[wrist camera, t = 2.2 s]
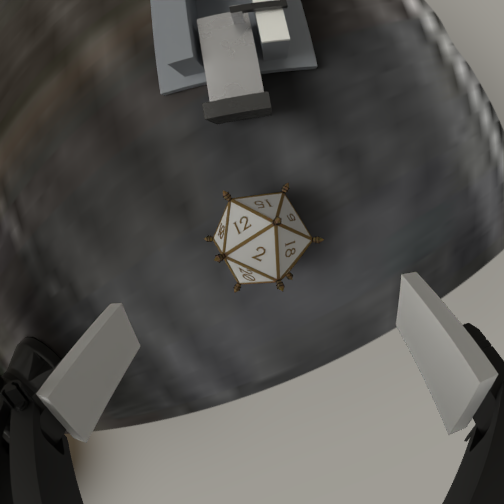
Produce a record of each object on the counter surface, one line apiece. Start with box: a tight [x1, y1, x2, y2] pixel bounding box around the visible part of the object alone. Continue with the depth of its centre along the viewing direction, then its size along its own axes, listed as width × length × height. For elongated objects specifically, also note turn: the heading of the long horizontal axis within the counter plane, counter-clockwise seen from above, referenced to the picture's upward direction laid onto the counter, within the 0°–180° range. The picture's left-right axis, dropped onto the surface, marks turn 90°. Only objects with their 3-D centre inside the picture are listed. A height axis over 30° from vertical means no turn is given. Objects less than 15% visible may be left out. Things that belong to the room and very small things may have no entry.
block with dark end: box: [197, 0, 288, 124], centre depth 17 cm, size 7×9×5 cm
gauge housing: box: [151, 0, 317, 96], centre depth 16 cm, size 14×12×6 cm
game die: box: [204, 183, 324, 292], centre depth 22 cm, size 9×8×10 cm
